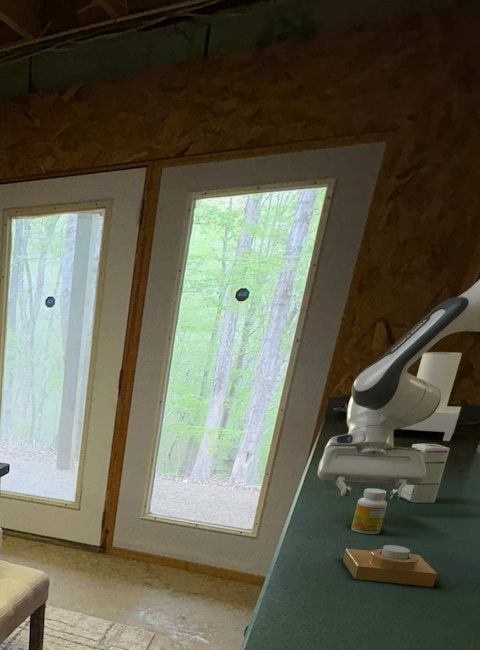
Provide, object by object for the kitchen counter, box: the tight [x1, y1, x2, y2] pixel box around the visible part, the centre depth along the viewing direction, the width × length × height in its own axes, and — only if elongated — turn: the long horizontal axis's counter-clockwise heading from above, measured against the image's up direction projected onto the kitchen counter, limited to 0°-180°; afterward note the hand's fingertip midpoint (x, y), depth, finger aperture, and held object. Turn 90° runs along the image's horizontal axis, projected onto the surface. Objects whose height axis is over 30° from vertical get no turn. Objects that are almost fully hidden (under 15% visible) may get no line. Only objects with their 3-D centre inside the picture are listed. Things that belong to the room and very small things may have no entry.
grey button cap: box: [381, 544, 411, 560], centre depth 118 cm, size 4×4×2 cm
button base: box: [342, 548, 438, 588], centre depth 120 cm, size 12×10×5 cm
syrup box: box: [400, 443, 450, 504], centre depth 162 cm, size 6×6×14 cm
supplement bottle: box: [350, 487, 388, 535], centre depth 143 cm, size 5×5×10 cm
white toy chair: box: [393, 351, 463, 442], centre depth 235 cm, size 19×19×30 cm
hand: (370, 496), depth 144 cm, fingers open, 8 cm apart
